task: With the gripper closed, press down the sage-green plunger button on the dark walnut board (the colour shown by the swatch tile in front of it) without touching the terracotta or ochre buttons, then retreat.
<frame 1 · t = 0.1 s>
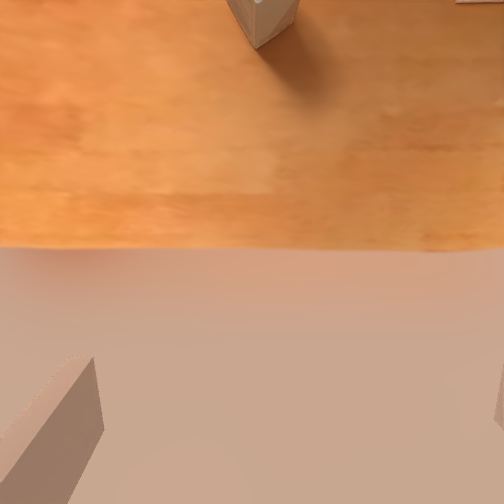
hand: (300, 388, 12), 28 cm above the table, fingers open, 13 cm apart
box: (258, 10, 34), on the table
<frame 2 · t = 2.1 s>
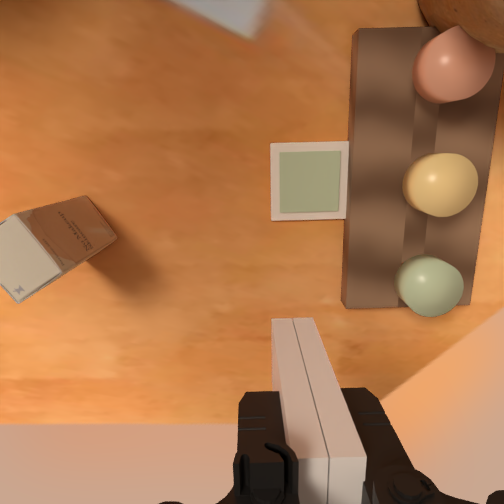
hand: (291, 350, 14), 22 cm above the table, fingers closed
button ochre: (432, 183, 31), point 4 cm above the table, slide at 0.0 cm
board: (410, 178, 35), on the table
box: (85, 227, 36), on the table
swatch: (308, 181, 35), on the table
button terracotta: (444, 69, 28), point 4 cm above the table, slide at 0.0 cm, touching potted plant
button green: (421, 280, 33), point 4 cm above the table, slide at 0.0 cm
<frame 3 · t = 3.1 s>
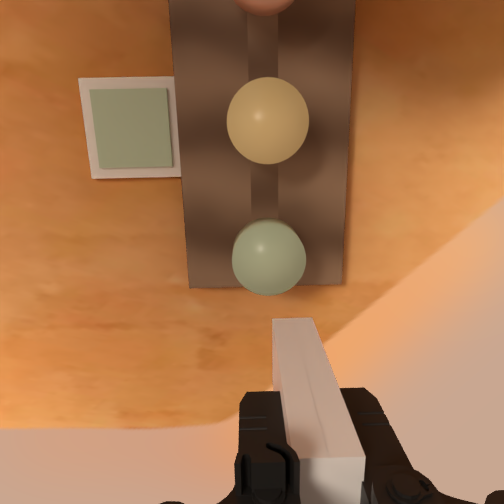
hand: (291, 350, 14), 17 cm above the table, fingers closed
button ochre: (265, 123, 24), point 4 cm above the table, slide at 0.0 cm
board: (262, 126, 28), on the table
swatch: (135, 129, 28), on the table
button green: (266, 251, 26), point 4 cm above the table, slide at 0.0 cm
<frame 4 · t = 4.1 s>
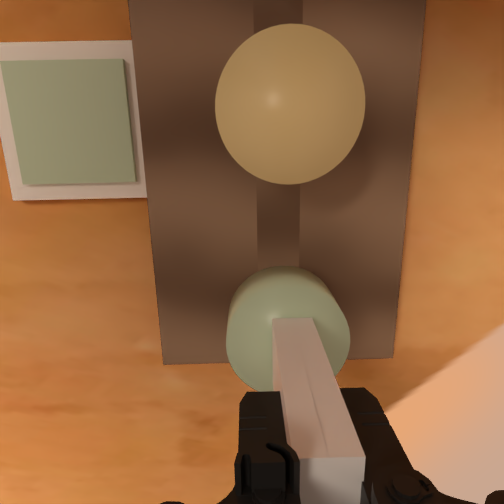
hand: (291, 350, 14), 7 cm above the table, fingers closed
button ochre: (283, 114, 14), point 4 cm above the table, slide at 0.0 cm
board: (274, 120, 18), on the table
swatch: (78, 124, 18), on the table
button green: (282, 317, 17), point 4 cm above the table, slide at 0.2 cm, touching gripper
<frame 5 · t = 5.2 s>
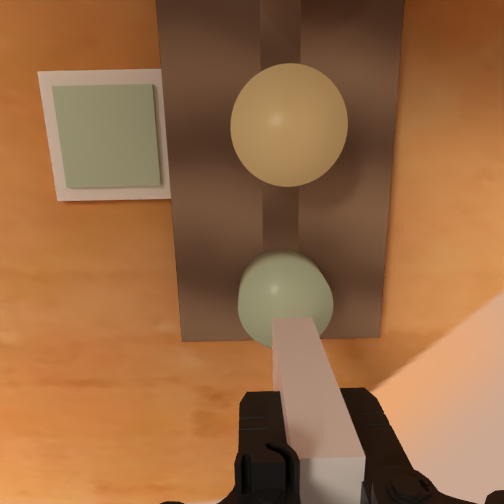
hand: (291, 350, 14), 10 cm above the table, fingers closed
button ochre: (284, 130, 18), point 4 cm above the table, slide at 0.0 cm
board: (277, 134, 22), on the table
swatch: (112, 137, 22), on the table
button green: (281, 290, 21), point 3 cm above the table, slide at 1.4 cm
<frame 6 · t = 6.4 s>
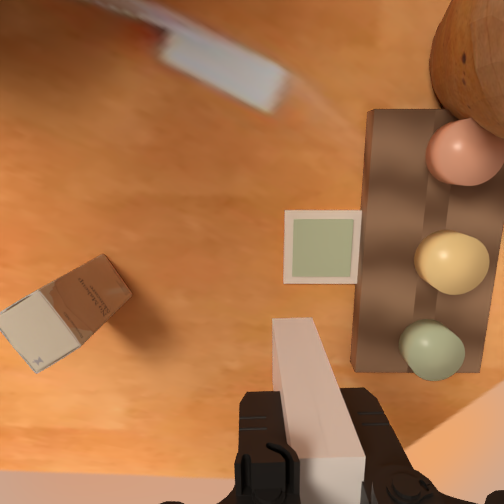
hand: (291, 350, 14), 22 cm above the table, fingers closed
button ochre: (443, 258, 31), point 4 cm above the table, slide at 0.0 cm
potted plant: (493, 60, 32), on the table, touching board, button terracotta
board: (421, 246, 35), on the table
box: (101, 283, 37), on the table
swatch: (320, 246, 35), on the table
button terracotta: (456, 152, 29), point 4 cm above the table, slide at 0.0 cm, touching potted plant
button green: (425, 343, 35), point 3 cm above the table, slide at 1.4 cm
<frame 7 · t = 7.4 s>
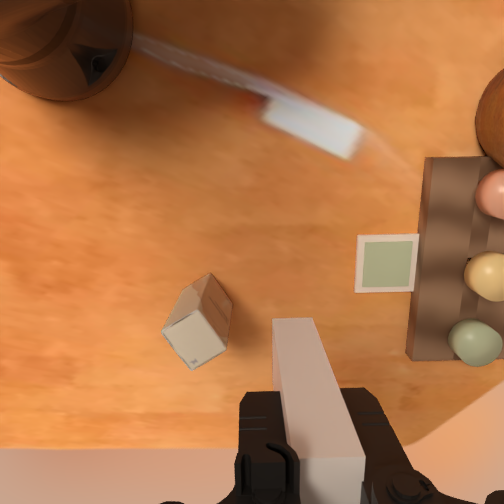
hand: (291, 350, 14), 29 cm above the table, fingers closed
button ochre: (486, 272, 40), point 4 cm above the table, slide at 0.0 cm
board: (465, 260, 44), on the table
box: (207, 296, 45), on the table
swatch: (385, 262, 44), on the table
button terracotta: (499, 192, 38), point 4 cm above the table, slide at 0.0 cm, touching potted plant
button green: (469, 337, 44), point 3 cm above the table, slide at 1.4 cm
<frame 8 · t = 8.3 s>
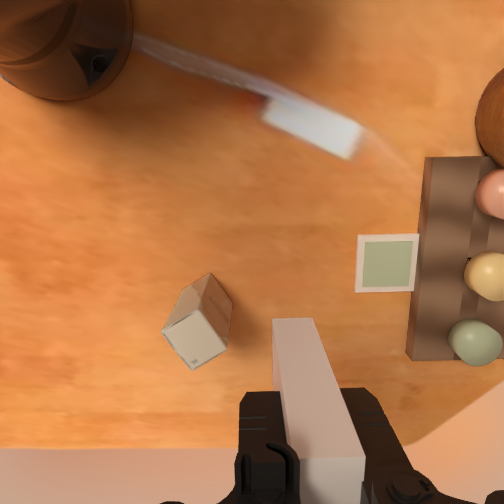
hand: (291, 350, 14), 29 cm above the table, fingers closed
button ochre: (487, 272, 40), point 4 cm above the table, slide at 0.0 cm
board: (465, 260, 44), on the table
box: (207, 295, 45), on the table
swatch: (385, 262, 44), on the table
button terracotta: (499, 192, 38), point 4 cm above the table, slide at 0.0 cm, touching potted plant
button green: (469, 337, 44), point 3 cm above the table, slide at 1.4 cm
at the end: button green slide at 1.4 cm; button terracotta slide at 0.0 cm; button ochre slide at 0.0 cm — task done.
